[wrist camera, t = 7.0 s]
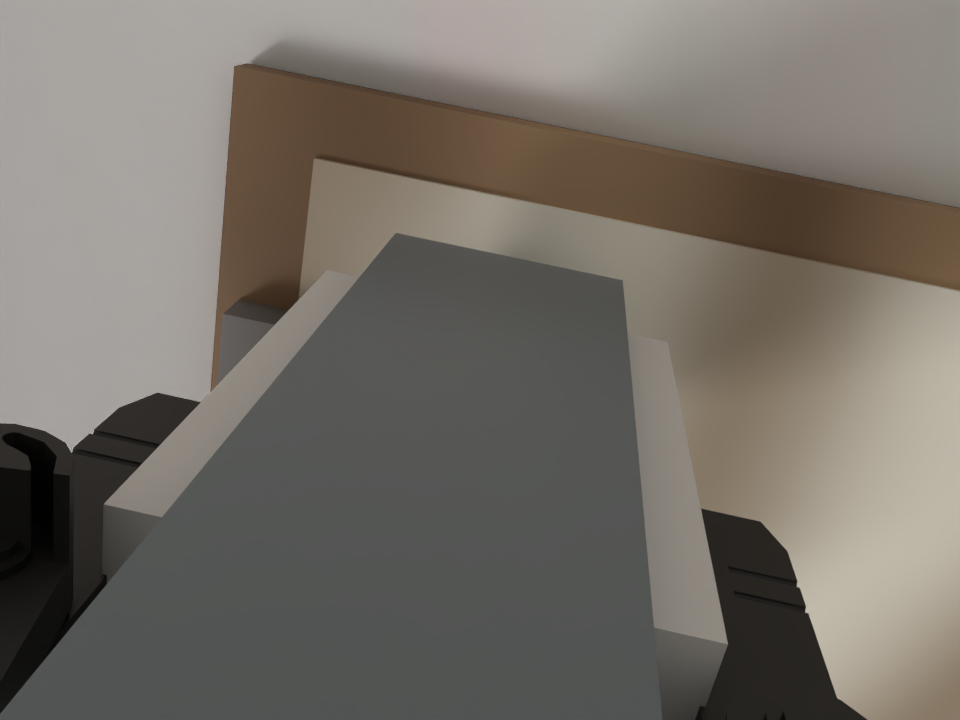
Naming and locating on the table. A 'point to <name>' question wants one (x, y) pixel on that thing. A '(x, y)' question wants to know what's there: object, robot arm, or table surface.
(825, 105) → the table surface
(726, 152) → the table surface
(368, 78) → the table surface
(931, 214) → the clipboard
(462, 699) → the blue-grey tall block
